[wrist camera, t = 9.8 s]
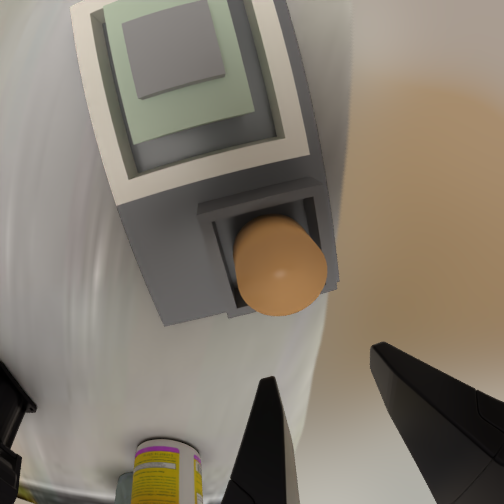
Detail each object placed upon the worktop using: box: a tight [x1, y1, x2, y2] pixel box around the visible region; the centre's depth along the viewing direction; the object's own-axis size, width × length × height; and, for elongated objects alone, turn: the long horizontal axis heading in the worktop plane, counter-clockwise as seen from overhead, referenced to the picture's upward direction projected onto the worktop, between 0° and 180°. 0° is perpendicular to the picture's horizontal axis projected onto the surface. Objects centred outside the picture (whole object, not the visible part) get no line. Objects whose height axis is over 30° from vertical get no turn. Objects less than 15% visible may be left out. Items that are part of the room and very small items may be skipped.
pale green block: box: [103, 0, 255, 144], centre depth 11 cm, size 6×4×6 cm
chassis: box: [70, 0, 339, 326], centre depth 15 cm, size 20×12×3 cm, turn 13°
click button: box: [233, 214, 327, 316], centre depth 15 cm, size 4×4×3 cm
